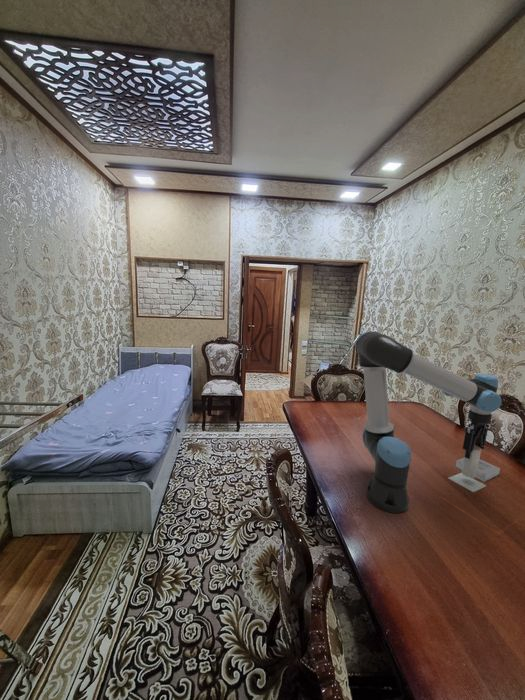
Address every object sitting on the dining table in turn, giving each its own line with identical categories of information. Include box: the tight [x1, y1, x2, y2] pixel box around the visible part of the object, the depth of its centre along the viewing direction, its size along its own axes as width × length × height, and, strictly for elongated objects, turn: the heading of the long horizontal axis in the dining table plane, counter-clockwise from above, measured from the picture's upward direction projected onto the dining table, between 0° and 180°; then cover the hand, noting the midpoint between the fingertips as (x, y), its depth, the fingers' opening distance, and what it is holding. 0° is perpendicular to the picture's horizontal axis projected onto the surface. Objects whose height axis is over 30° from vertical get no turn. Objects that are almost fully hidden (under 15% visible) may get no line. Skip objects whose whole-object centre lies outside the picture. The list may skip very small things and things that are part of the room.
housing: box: [455, 457, 501, 482], centre depth 131 cm, size 12×12×4 cm
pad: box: [447, 472, 487, 493], centre depth 122 cm, size 10×10×1 cm
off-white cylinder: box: [461, 445, 482, 479], centre depth 120 cm, size 5×5×13 cm
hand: (470, 463), depth 120 cm, fingers closed on off-white cylinder, 5 cm apart
